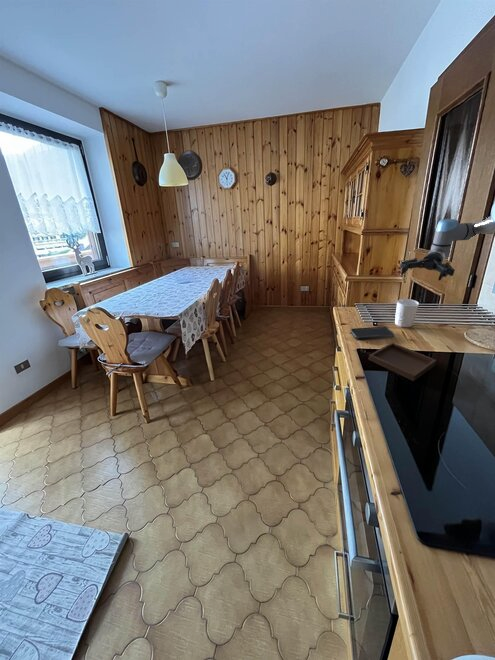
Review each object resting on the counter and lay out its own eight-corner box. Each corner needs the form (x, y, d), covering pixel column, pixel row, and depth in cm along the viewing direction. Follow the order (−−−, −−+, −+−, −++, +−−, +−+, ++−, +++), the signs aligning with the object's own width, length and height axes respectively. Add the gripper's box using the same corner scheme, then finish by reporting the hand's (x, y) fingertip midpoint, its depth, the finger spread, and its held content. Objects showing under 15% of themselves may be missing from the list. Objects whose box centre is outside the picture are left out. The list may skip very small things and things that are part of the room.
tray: (435, 365, 94) (436, 360, 93) (413, 381, 87) (414, 375, 86) (390, 347, 105) (391, 342, 104) (368, 359, 99) (369, 354, 98)
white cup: (409, 319, 124) (414, 298, 119) (417, 328, 117) (422, 305, 112) (390, 320, 125) (394, 299, 120) (397, 328, 118) (401, 306, 113)
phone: (350, 328, 117) (385, 326, 117) (349, 331, 118) (385, 328, 118) (357, 337, 110) (395, 335, 110) (356, 340, 111) (394, 337, 111)
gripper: (463, 272, 124) (453, 289, 110) (402, 263, 138) (387, 276, 125) (469, 255, 120) (460, 270, 106) (406, 248, 134) (391, 260, 121)
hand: (421, 274), depth 116 cm, fingers open, 13 cm apart
